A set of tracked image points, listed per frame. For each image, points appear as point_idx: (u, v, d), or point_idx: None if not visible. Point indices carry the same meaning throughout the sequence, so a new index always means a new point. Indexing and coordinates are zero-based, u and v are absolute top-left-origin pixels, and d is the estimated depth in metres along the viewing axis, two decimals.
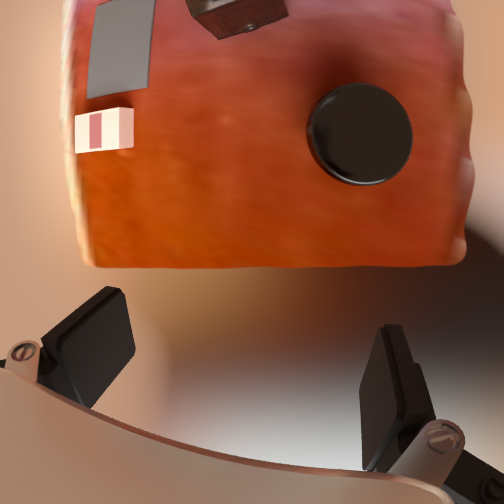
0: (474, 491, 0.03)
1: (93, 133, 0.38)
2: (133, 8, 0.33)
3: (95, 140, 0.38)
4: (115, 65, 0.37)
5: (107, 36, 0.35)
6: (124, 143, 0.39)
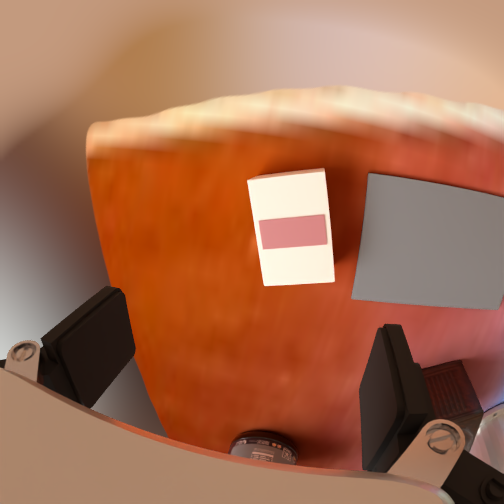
0: (474, 491, 0.03)
1: (288, 226, 0.24)
2: (486, 276, 0.24)
3: (275, 232, 0.24)
4: (408, 243, 0.25)
5: (466, 227, 0.23)
6: None
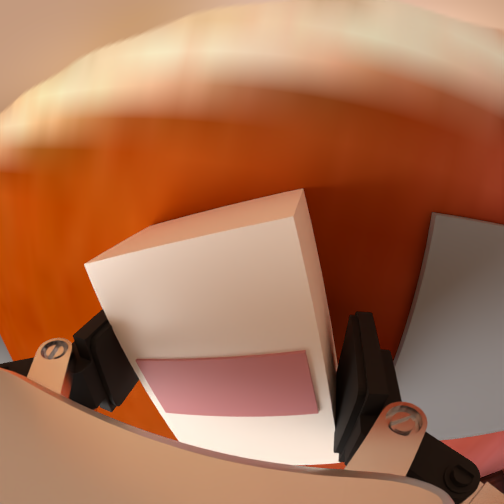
0: (437, 476, 0.04)
1: (207, 375, 0.08)
2: None
3: (182, 386, 0.09)
4: (486, 357, 0.10)
5: None
6: None
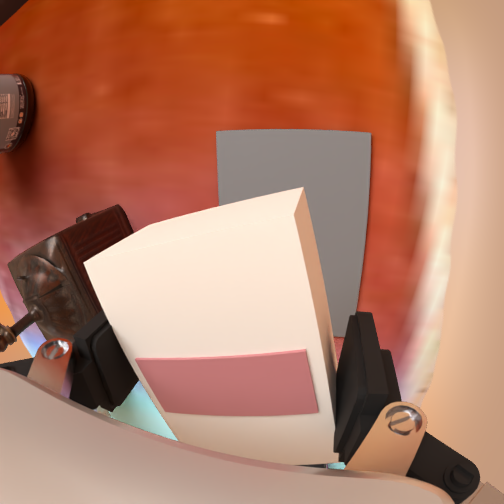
0: (437, 476, 0.04)
1: (207, 375, 0.08)
2: None
3: (181, 385, 0.09)
4: (294, 188, 0.23)
5: (320, 261, 0.25)
6: None
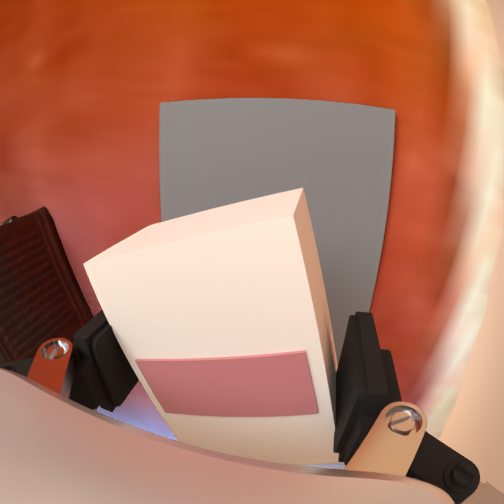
0: (437, 476, 0.04)
1: (207, 375, 0.08)
2: None
3: (181, 386, 0.09)
4: (273, 190, 0.15)
5: None
6: None
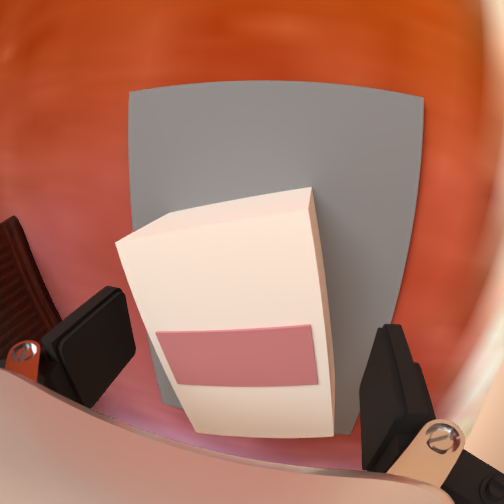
0: (474, 491, 0.03)
1: (221, 346, 0.10)
2: None
3: (196, 357, 0.10)
4: None
5: None
6: None
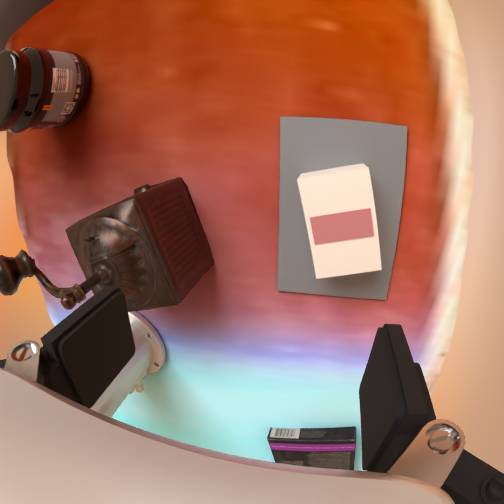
0: (474, 491, 0.03)
1: (337, 220, 0.25)
2: None
3: (326, 227, 0.25)
4: None
5: None
6: None
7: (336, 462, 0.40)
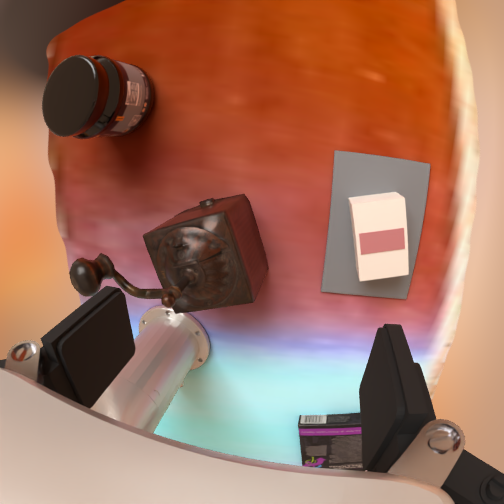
0: (474, 491, 0.03)
1: (379, 236, 0.31)
2: (352, 271, 0.38)
3: (370, 241, 0.32)
4: None
5: None
6: None
7: (356, 445, 0.46)
